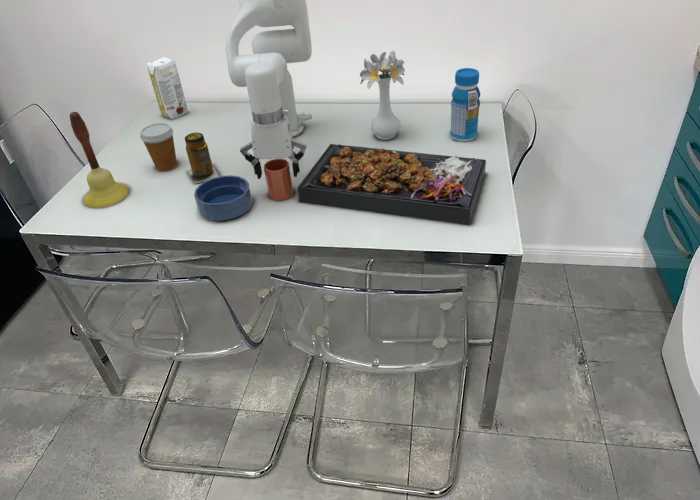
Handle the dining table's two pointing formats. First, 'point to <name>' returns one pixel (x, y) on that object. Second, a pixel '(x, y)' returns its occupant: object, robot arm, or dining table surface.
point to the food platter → (395, 183)
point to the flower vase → (384, 92)
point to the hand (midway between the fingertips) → (278, 175)
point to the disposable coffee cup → (160, 145)
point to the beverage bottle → (465, 105)
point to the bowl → (223, 197)
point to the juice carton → (167, 87)
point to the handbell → (97, 172)
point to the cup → (278, 179)
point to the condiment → (199, 158)
